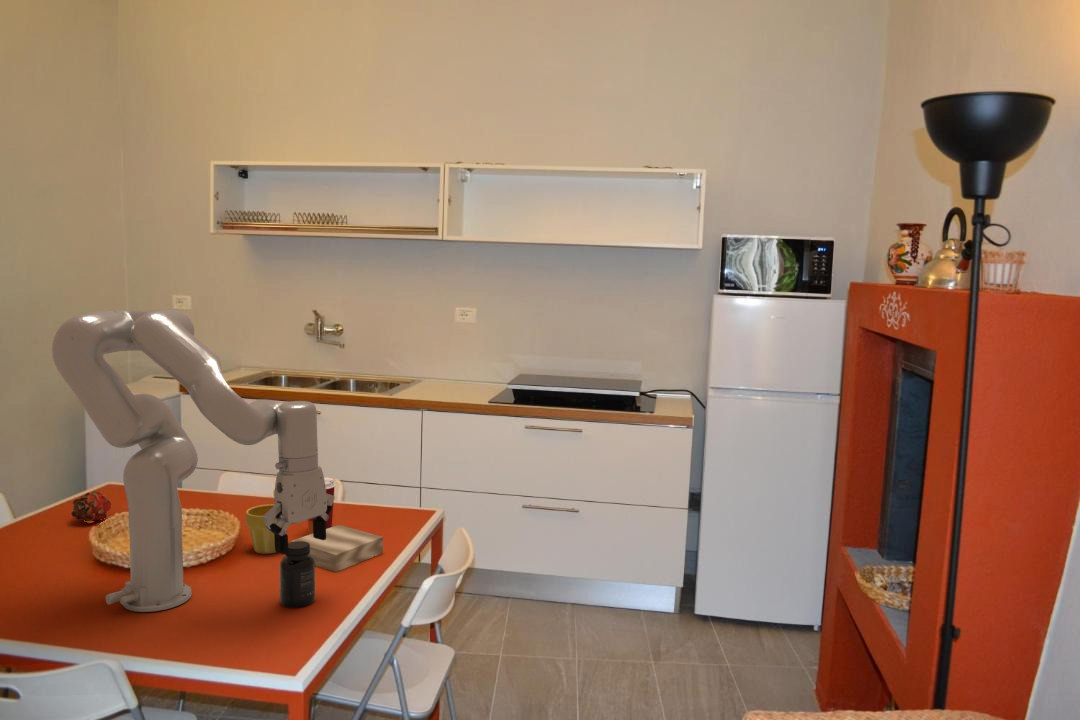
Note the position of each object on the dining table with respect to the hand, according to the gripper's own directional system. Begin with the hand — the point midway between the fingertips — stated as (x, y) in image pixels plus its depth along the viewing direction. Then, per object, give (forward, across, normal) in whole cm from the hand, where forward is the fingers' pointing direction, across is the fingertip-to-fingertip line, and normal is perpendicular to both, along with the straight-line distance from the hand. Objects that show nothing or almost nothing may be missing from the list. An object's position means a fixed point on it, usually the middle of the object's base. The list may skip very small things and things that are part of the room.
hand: (301, 545), depth 156 cm
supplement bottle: (+12, -1, +1) cm, 12 cm away
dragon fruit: (+10, +1, +83) cm, 84 cm away
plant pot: (+12, +15, +30) cm, 36 cm away
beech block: (+12, +22, +14) cm, 29 cm away
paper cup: (+12, +30, +29) cm, 44 cm away
